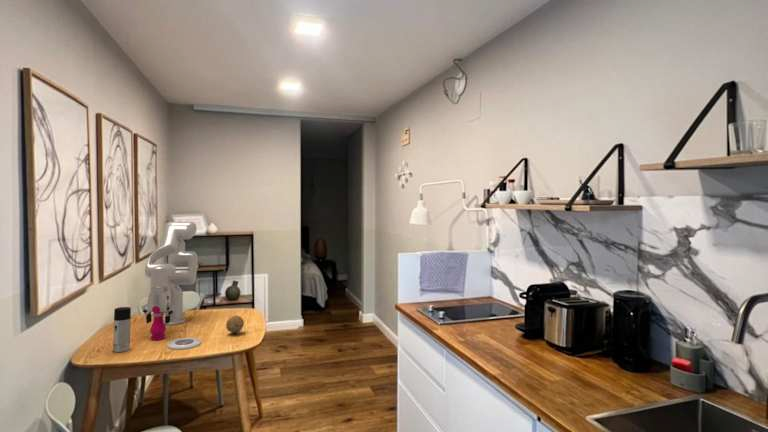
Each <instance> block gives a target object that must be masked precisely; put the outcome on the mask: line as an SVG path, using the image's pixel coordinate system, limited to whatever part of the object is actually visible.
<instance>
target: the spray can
mask: <svg viewBox="0 0 768 432" xmlns="http://www.w3.org/2000/svg"><path fill="white" fill-rule="evenodd" d="M131 309H132V307H130V306H122V307H121V306H120V307H116V308H114V312H113V337H112V338H113V342H112V343H113V344H112V345H113V346H112V347H113V348H112V351H113V353H124V352H127V351H129V350H130V347H131V346H130V345H131V313H132V312H131Z"/></svg>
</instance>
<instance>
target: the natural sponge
mask: <svg viewBox="0 0 768 432" xmlns="http://www.w3.org/2000/svg"><path fill="white" fill-rule="evenodd" d="M244 325H245V321H244V319H243V317H241V316H240V315H234V316H231V317H229V318H228V319H227V322H226V325H225V326H226V330H227V331H228V332H230V333H232V334H233V333H237V334H239V333H240V332H241V331H242V329H243V327H244Z"/></svg>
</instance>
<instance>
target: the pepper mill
mask: <svg viewBox="0 0 768 432" xmlns="http://www.w3.org/2000/svg"><path fill="white" fill-rule="evenodd" d="M152 311H153V312H152V316H153V321H152V324H151V326H150V329H149V333H150V339H151V341H161V340H165V339H166V334H165V332H166V331H167V327H166V325H165V324H164V322H163V320H164V316H165V313H164V312H160V308H159V307H158V306H154V307H153V308H152Z"/></svg>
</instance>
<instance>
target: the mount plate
mask: <svg viewBox="0 0 768 432" xmlns="http://www.w3.org/2000/svg"><path fill="white" fill-rule="evenodd" d="M201 344H202V340H201V339H200V338H198V337H181V338H176V339H173V340H171V341H168V342H167V348H168V349H169V350H174V351H180V350H181V351H183V350H190V349H193V348H197V347H198V346H201Z"/></svg>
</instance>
